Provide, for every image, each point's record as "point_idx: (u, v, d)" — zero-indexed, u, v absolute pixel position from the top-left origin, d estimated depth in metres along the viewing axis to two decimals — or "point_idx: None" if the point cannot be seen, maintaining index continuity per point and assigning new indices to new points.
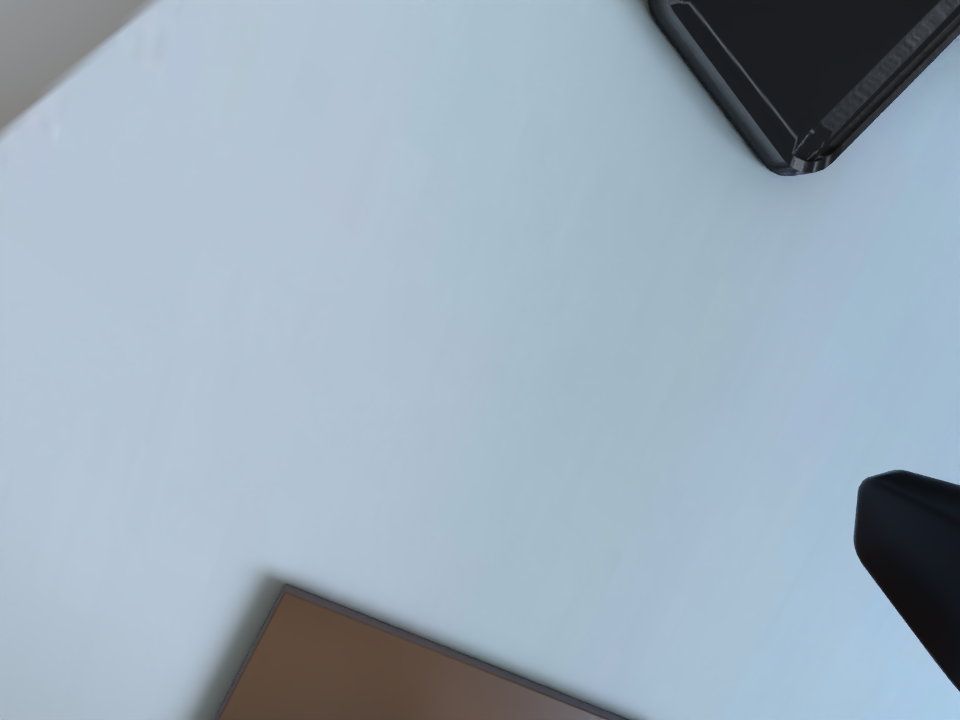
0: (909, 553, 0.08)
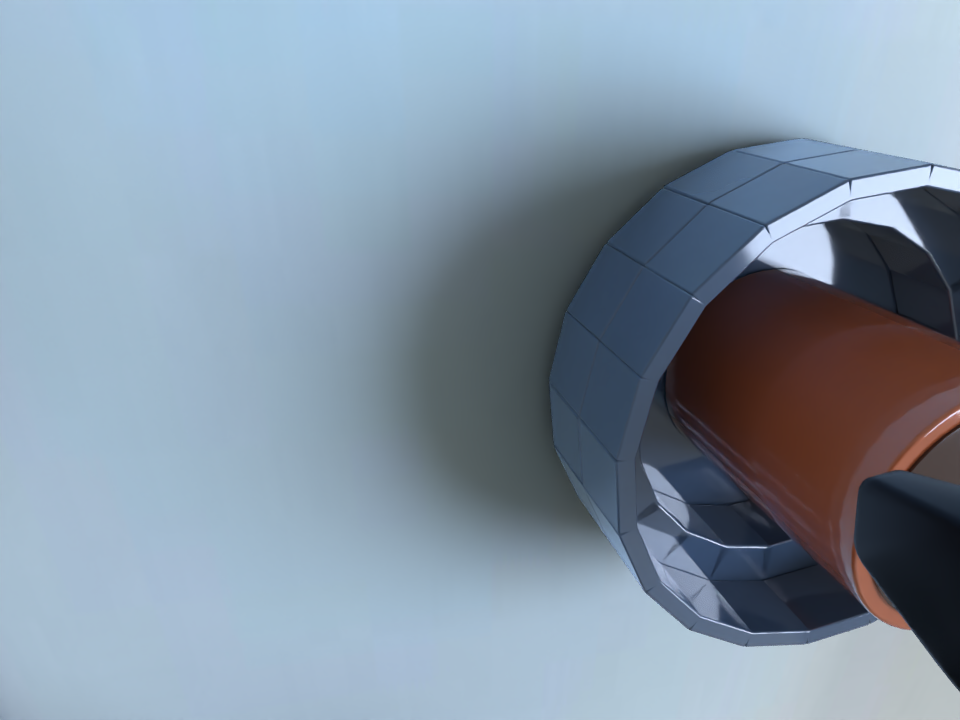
0: (909, 553, 0.08)
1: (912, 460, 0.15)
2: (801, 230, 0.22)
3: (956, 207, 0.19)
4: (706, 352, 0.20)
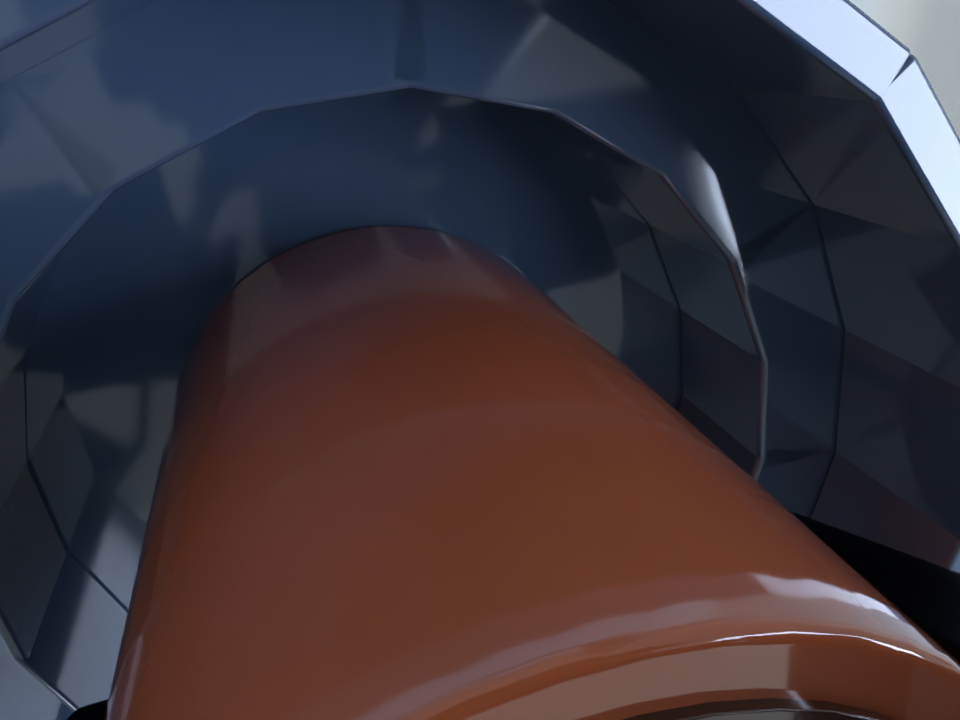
0: None
1: None
2: (428, 141, 0.10)
3: (701, 54, 0.08)
4: (173, 412, 0.09)
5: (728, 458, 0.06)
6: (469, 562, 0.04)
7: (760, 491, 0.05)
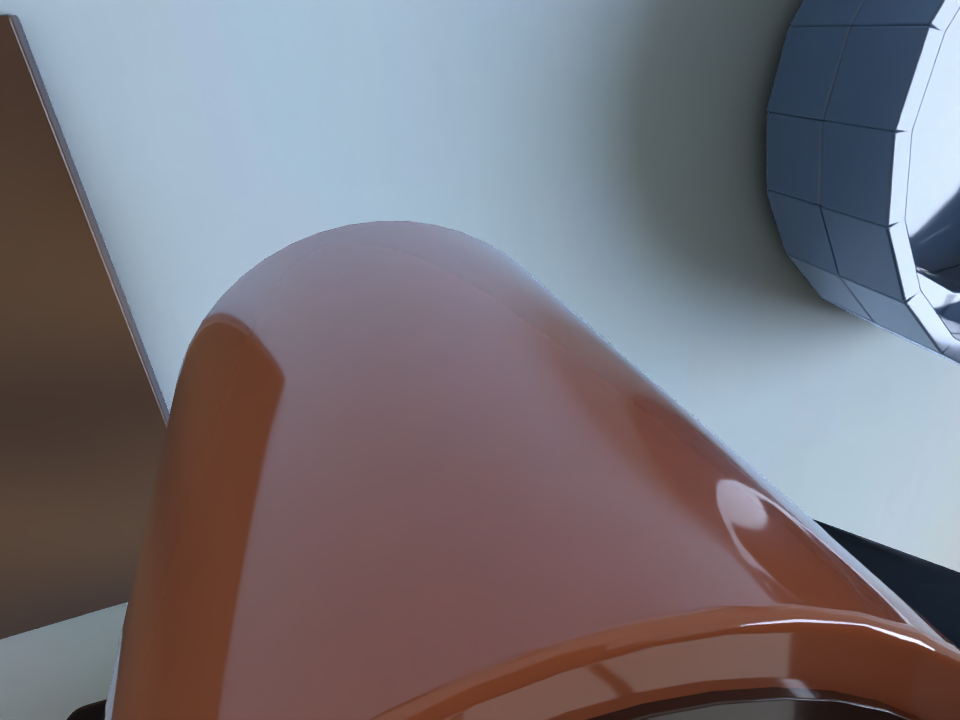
0: None
1: None
2: None
3: None
4: (173, 407, 0.09)
5: (731, 450, 0.06)
6: (471, 549, 0.04)
7: (764, 482, 0.05)
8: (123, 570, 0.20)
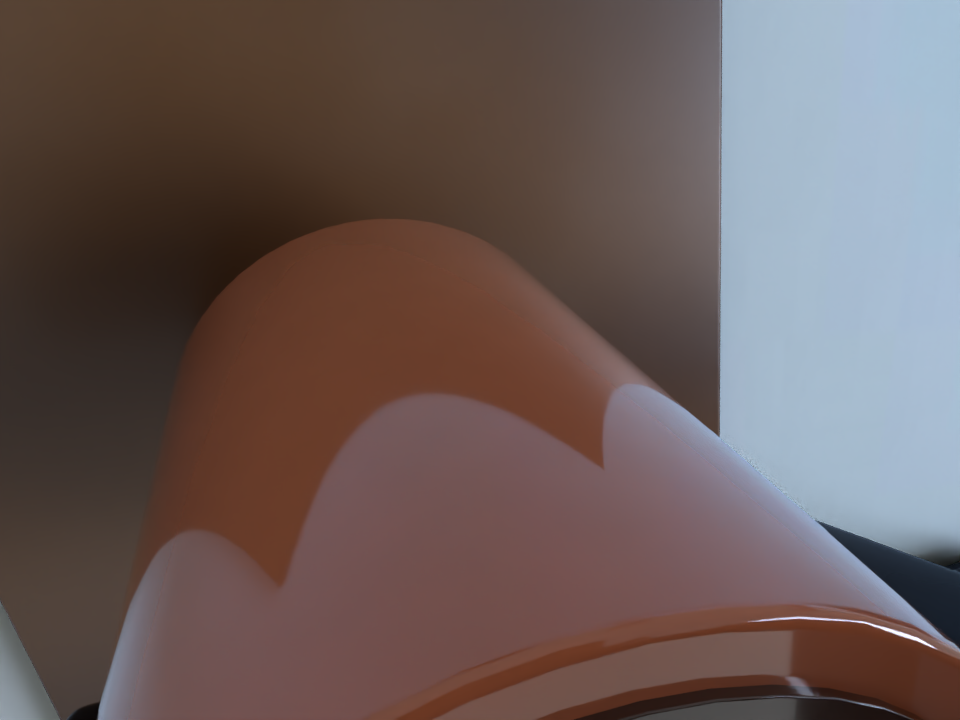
0: None
1: None
2: None
3: None
4: (170, 405, 0.09)
5: (729, 447, 0.06)
6: (467, 547, 0.04)
7: (762, 480, 0.05)
8: None
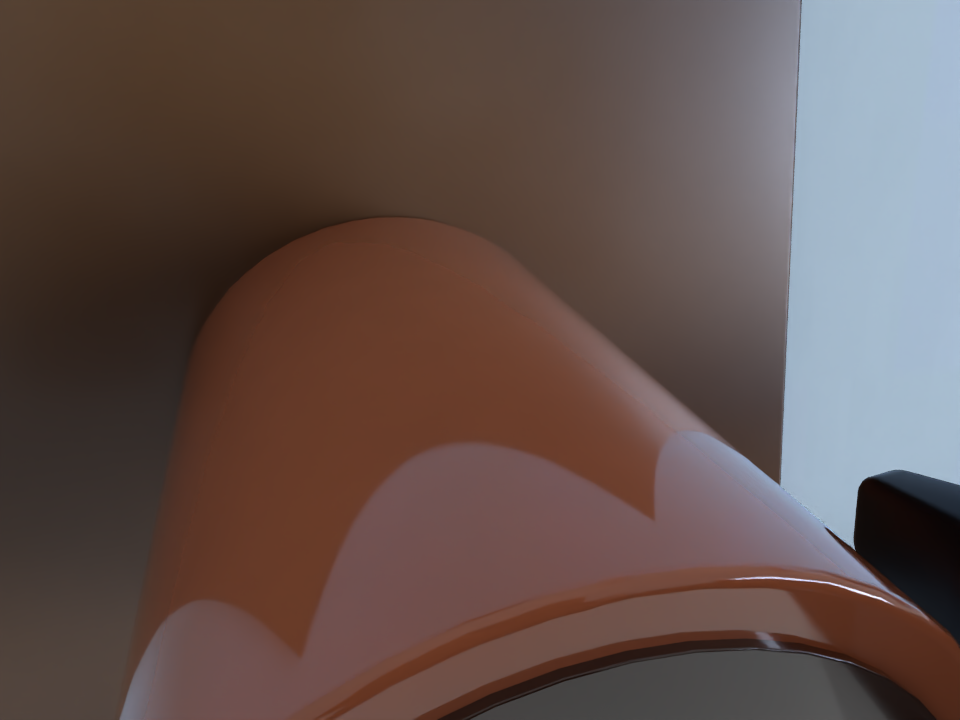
0: (909, 553, 0.08)
1: None
2: None
3: None
4: (182, 396, 0.09)
5: (716, 432, 0.06)
6: (470, 514, 0.04)
7: (745, 460, 0.06)
8: None
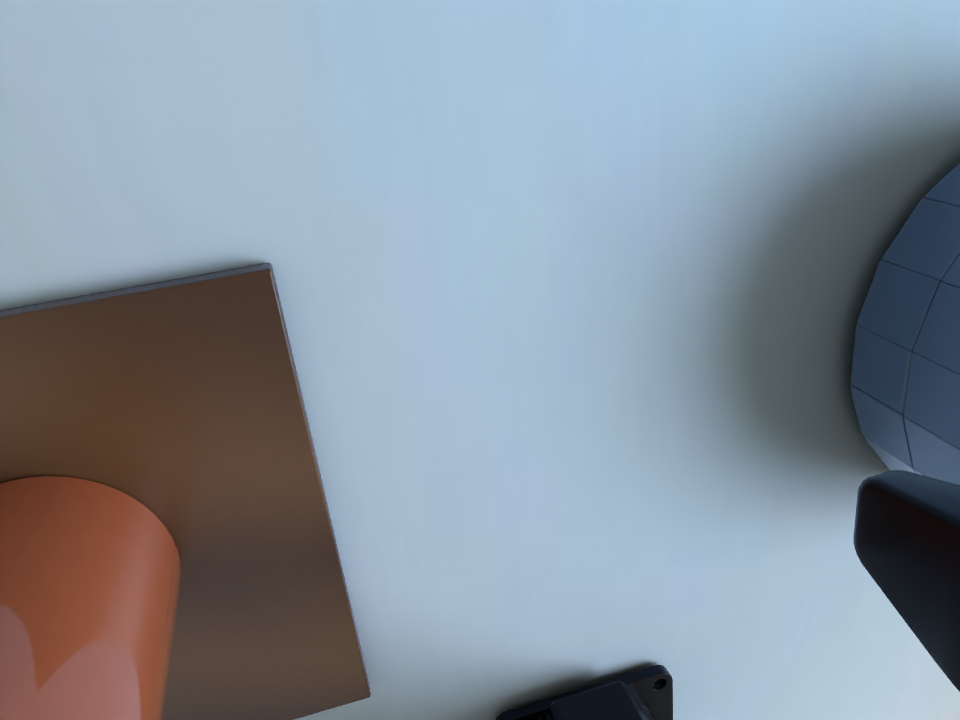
0: (909, 553, 0.08)
1: None
2: None
3: None
4: None
5: (69, 653, 0.14)
6: None
7: (52, 675, 0.13)
8: (289, 695, 0.23)
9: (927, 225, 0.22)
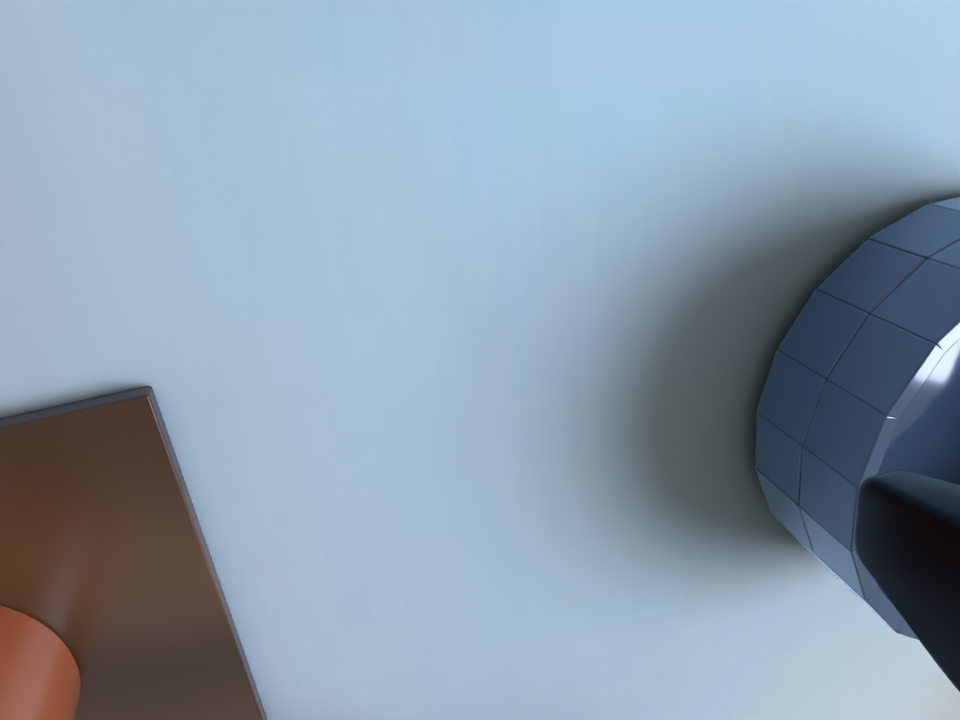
0: (909, 553, 0.08)
1: None
2: None
3: None
4: None
5: None
6: None
7: None
8: None
9: (818, 319, 0.22)
